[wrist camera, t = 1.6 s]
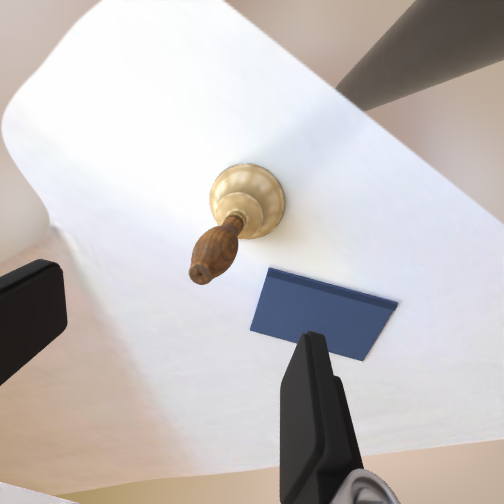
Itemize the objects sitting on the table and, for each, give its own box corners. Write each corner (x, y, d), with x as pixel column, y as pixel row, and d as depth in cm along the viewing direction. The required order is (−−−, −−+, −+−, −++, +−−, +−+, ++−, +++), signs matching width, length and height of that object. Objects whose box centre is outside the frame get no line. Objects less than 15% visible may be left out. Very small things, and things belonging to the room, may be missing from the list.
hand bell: (257, 251, 30) (231, 356, 15) (197, 212, 29) (107, 286, 14) (300, 193, 26) (319, 256, 12) (234, 146, 25) (165, 154, 11)
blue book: (269, 267, 30) (268, 269, 30) (396, 302, 30) (398, 304, 30) (250, 329, 34) (249, 331, 34) (362, 359, 34) (363, 362, 34)
